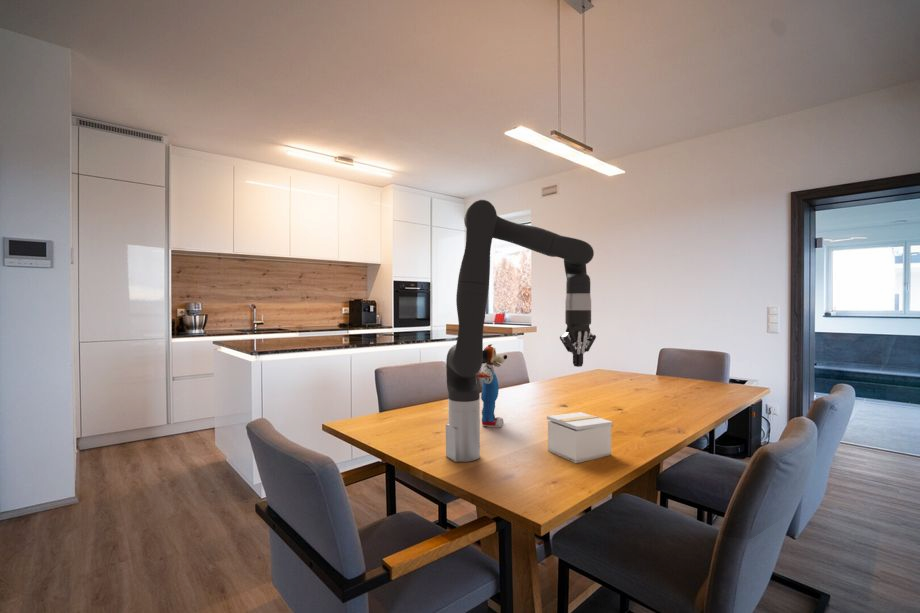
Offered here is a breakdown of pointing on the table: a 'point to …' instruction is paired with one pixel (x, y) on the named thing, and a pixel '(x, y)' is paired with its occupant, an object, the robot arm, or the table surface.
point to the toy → (490, 386)
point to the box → (579, 442)
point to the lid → (579, 420)
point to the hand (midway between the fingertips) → (578, 366)
